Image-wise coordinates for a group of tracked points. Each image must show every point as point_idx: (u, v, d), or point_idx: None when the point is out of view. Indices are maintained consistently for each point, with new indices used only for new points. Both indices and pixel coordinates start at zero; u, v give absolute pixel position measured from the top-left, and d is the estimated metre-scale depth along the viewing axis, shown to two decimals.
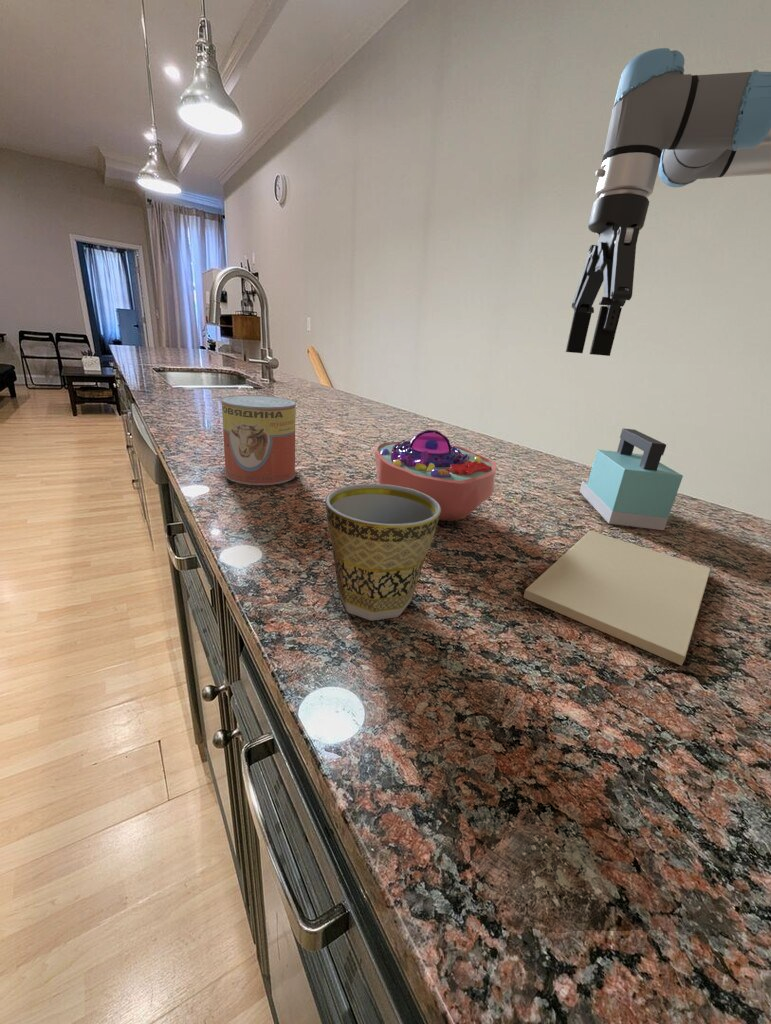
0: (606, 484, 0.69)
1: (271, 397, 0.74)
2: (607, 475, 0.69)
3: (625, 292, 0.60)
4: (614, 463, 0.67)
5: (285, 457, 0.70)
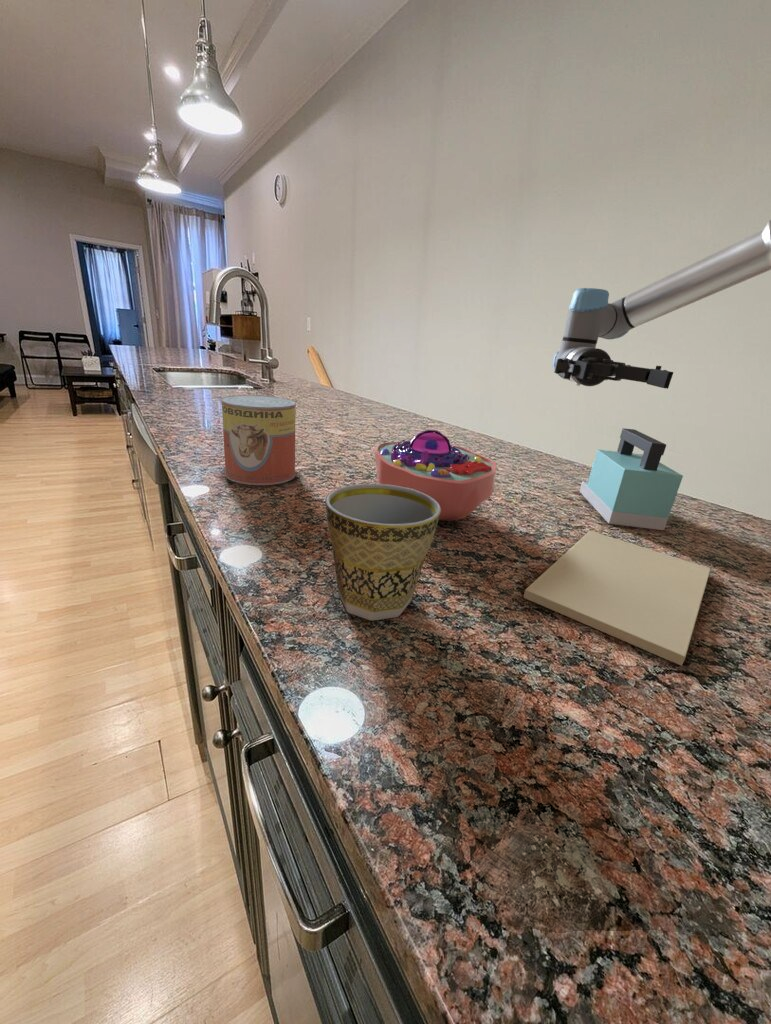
0: (606, 484, 0.69)
1: (271, 397, 0.74)
2: (607, 475, 0.69)
3: None
4: (614, 463, 0.67)
5: (285, 457, 0.70)
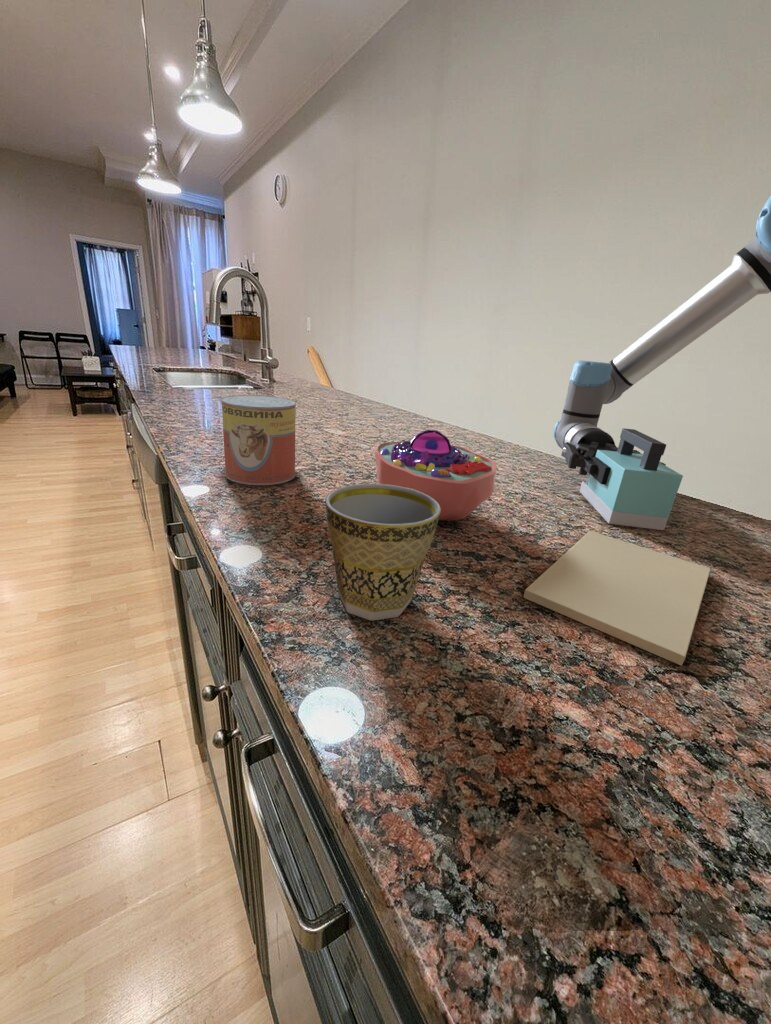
0: (606, 484, 0.69)
1: (271, 397, 0.74)
2: None
3: None
4: (614, 463, 0.67)
5: (285, 457, 0.70)
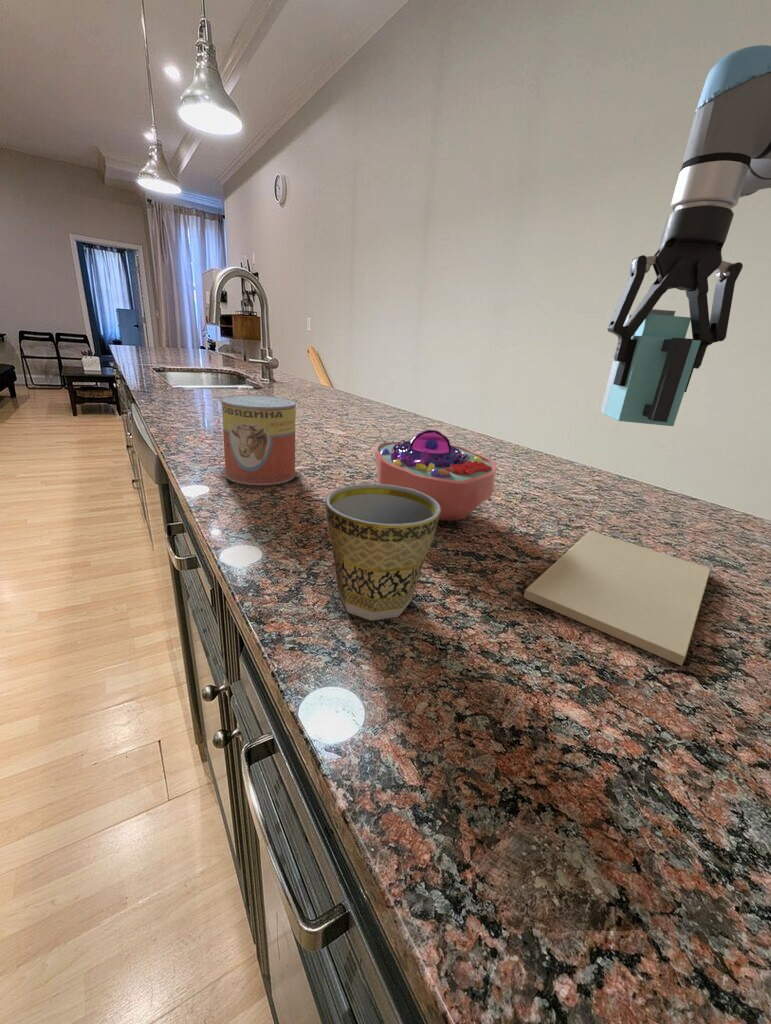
0: (617, 388, 0.69)
1: (271, 397, 0.74)
2: None
3: (612, 325, 0.65)
4: (625, 394, 0.66)
5: (285, 457, 0.70)
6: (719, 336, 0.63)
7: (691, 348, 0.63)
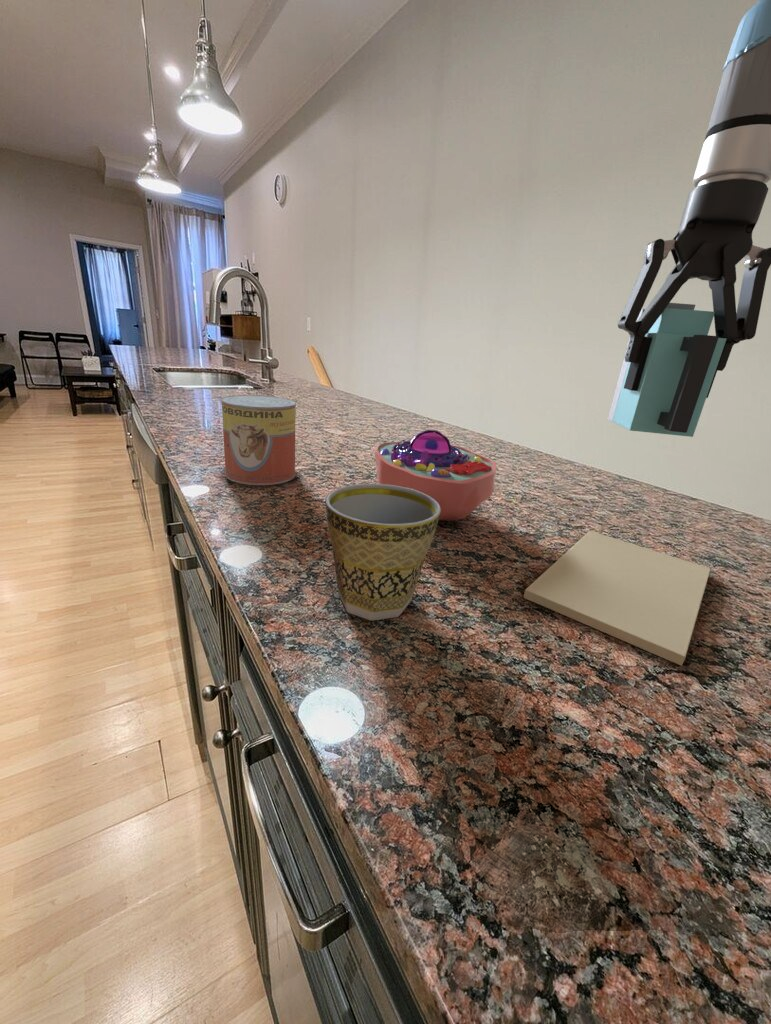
0: (628, 393, 0.61)
1: (271, 397, 0.74)
2: None
3: (623, 321, 0.56)
4: (637, 400, 0.57)
5: (285, 457, 0.70)
6: (747, 333, 0.54)
7: (715, 347, 0.54)
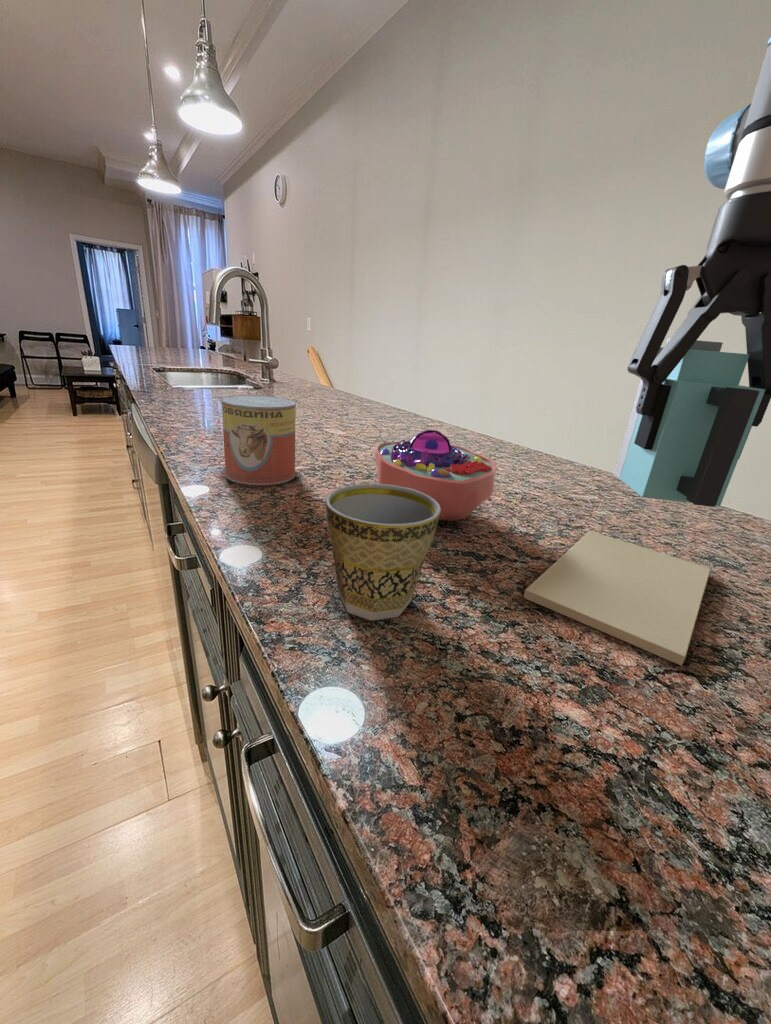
0: (639, 449, 0.49)
1: (271, 397, 0.74)
2: None
3: (635, 365, 0.45)
4: (652, 461, 0.46)
5: (285, 457, 0.70)
6: None
7: None
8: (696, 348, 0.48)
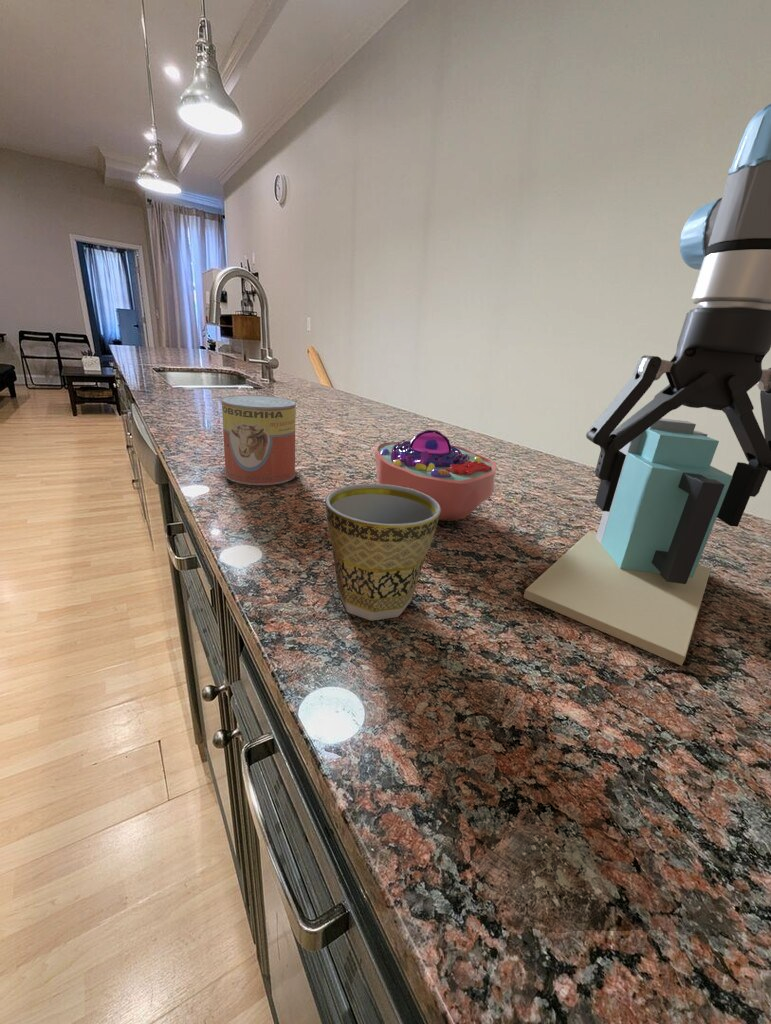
0: (618, 520, 0.53)
1: (271, 397, 0.74)
2: (624, 517, 0.51)
3: (592, 434, 0.48)
4: (629, 536, 0.49)
5: (285, 457, 0.70)
6: None
7: None
8: (671, 428, 0.51)
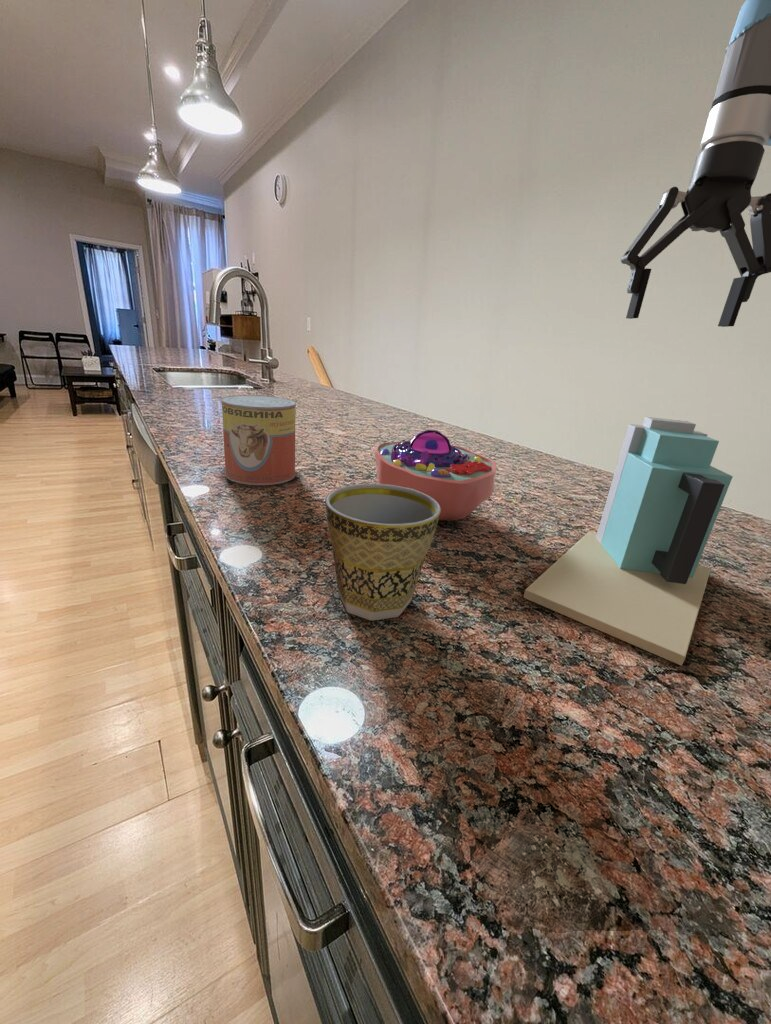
0: (618, 520, 0.53)
1: (271, 397, 0.74)
2: (624, 517, 0.51)
3: (626, 255, 0.65)
4: (629, 536, 0.49)
5: (285, 457, 0.70)
6: (769, 267, 0.62)
7: None
8: (671, 428, 0.51)
